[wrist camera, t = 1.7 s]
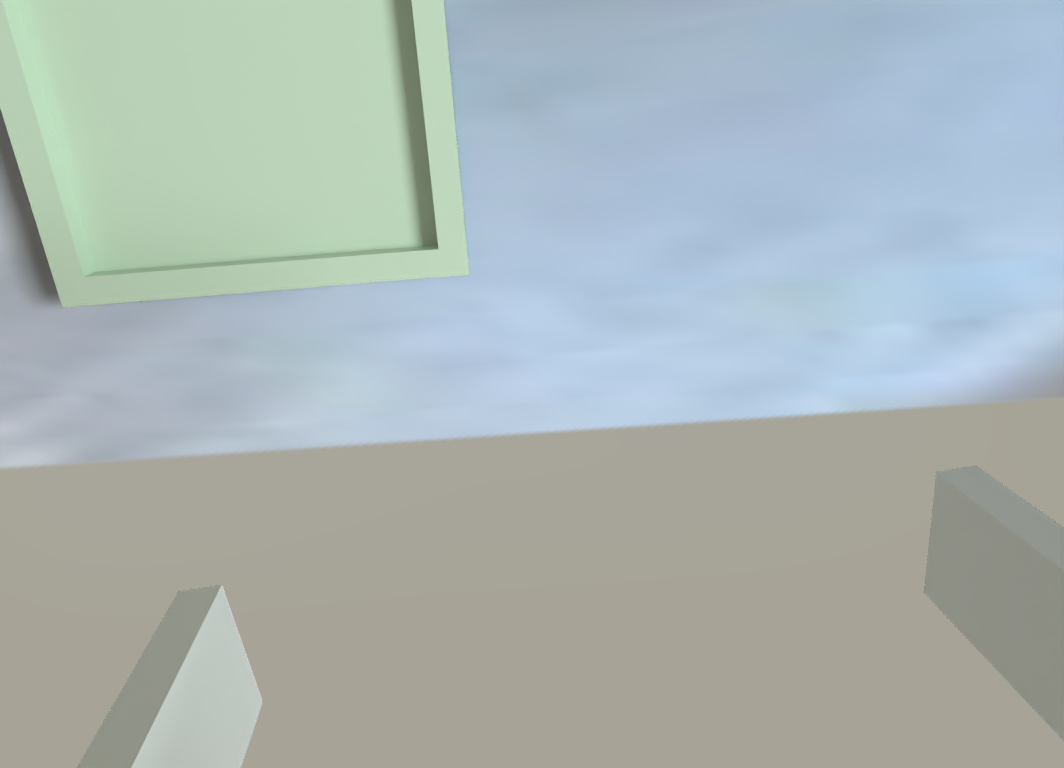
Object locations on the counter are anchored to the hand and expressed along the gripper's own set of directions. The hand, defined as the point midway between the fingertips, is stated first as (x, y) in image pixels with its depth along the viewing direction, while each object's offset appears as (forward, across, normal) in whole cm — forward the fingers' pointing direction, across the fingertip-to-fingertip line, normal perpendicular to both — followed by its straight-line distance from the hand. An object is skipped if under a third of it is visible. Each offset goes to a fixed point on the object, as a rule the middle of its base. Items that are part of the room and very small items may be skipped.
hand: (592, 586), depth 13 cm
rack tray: (+22, -10, +12) cm, 27 cm away
